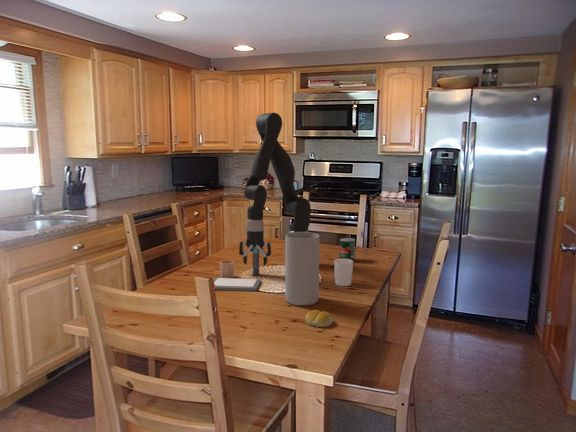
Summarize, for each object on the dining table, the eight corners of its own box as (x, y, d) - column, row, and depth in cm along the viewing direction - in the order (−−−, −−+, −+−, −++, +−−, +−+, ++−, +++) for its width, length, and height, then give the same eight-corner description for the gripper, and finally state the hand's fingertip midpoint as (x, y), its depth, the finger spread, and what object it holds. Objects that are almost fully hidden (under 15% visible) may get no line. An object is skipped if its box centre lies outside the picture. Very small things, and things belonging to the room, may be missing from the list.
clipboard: (261, 281, 187) (261, 278, 187) (256, 291, 174) (255, 287, 174) (215, 280, 189) (215, 277, 188) (207, 289, 176) (207, 286, 176)
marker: (260, 273, 199) (259, 245, 197) (258, 275, 196) (258, 247, 194) (253, 273, 199) (253, 245, 197) (252, 275, 196) (251, 247, 194)
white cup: (354, 282, 186) (354, 259, 185) (350, 287, 179) (351, 264, 177) (336, 280, 189) (336, 257, 187) (331, 285, 181) (332, 262, 180)
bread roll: (312, 316, 149) (312, 304, 149) (336, 321, 144) (336, 310, 144) (300, 324, 142) (300, 312, 142) (324, 330, 137) (324, 318, 137)
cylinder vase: (323, 297, 167) (324, 233, 163) (311, 308, 156) (311, 240, 152) (293, 293, 172) (293, 231, 168) (279, 303, 161) (279, 236, 157)
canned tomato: (338, 262, 219) (339, 240, 217) (339, 258, 226) (340, 237, 225) (354, 262, 217) (355, 241, 216) (355, 259, 225) (355, 238, 223)
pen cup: (235, 275, 195) (234, 260, 194) (232, 279, 189) (231, 264, 188) (222, 275, 196) (221, 260, 195) (218, 279, 190) (218, 263, 189)
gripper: (272, 228, 197) (271, 263, 200) (241, 227, 199) (241, 261, 201) (269, 231, 190) (269, 267, 192) (237, 230, 191) (237, 266, 194)
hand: (255, 264), depth 197 cm, fingers open, 8 cm apart
